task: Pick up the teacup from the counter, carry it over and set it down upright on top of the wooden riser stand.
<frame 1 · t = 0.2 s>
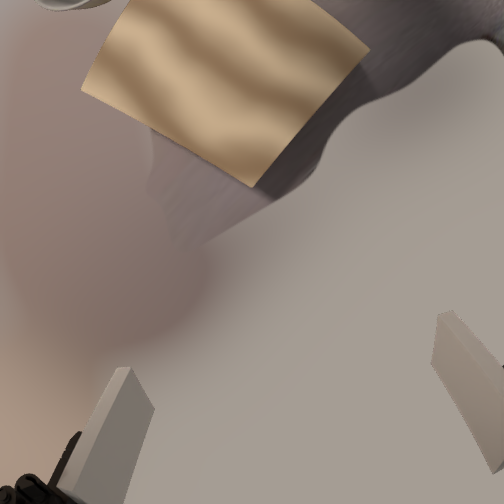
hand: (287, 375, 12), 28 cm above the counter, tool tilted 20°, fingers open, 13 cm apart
wooden riser stand: (222, 54, 27), on the counter
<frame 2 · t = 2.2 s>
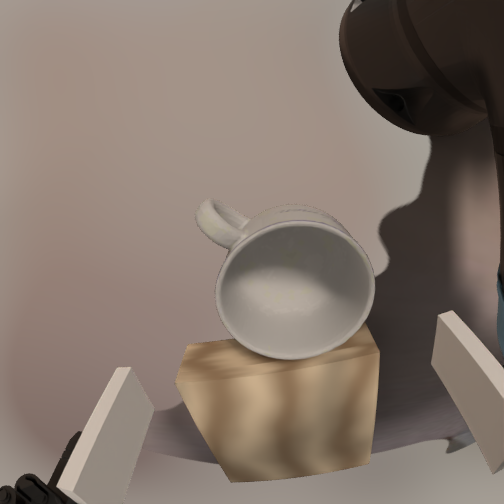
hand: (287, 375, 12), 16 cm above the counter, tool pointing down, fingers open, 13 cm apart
wooden riser stand: (287, 398, 33), on the counter
teacup: (277, 243, 27), on the counter
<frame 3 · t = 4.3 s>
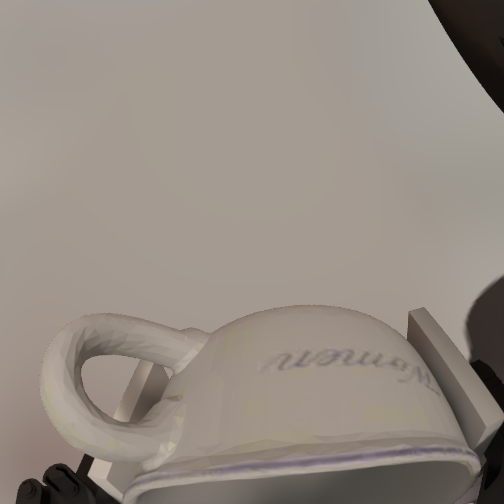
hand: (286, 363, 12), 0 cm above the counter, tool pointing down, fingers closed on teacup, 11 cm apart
teacup: (270, 354, 13), on the counter, touching gripper
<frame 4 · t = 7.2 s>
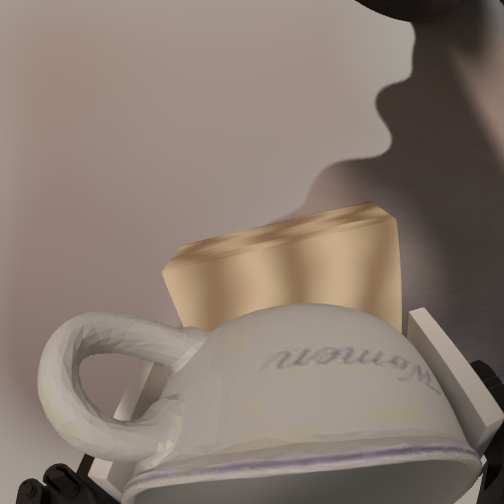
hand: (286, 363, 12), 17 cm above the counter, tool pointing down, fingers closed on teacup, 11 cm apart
wooden riser stand: (297, 316, 31), on the counter
teacup: (270, 353, 13), point 16 cm above the counter, touching gripper
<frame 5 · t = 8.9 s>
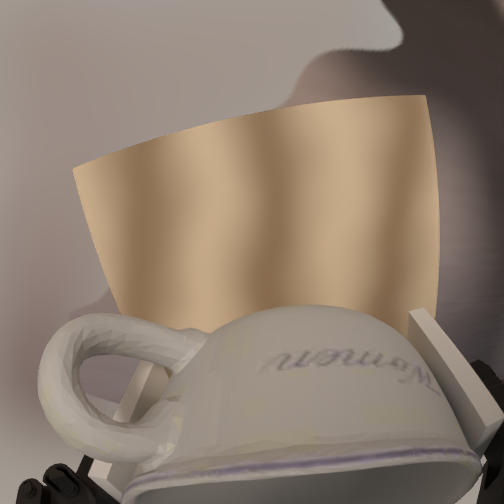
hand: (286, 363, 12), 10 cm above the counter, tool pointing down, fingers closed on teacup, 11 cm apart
wooden riser stand: (278, 269, 22), on the counter
teacup: (270, 354, 13), point 9 cm above the counter, touching gripper
when the fingers open (8 cm above the counter, at t = 10.3 s): teacup drops 1 cm, resting on wooden riser stand.
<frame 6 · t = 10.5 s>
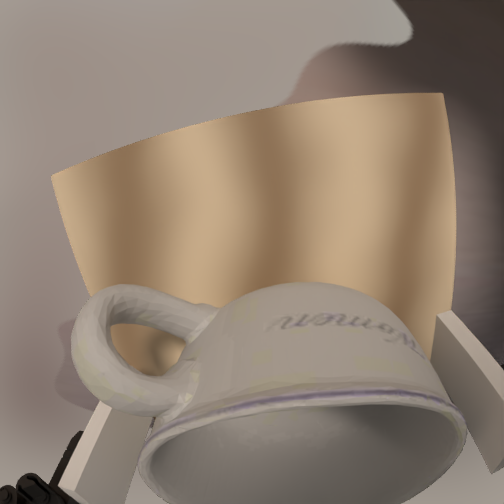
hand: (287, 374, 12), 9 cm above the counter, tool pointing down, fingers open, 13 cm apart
wooden riser stand: (278, 282, 20), on the counter
teacup: (272, 333, 14), point 6 cm above the counter, touching wooden riser stand
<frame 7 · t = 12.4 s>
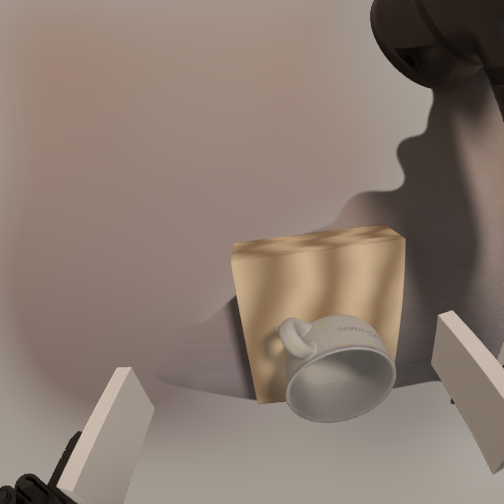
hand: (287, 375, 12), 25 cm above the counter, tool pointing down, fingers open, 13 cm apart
wooden riser stand: (317, 308, 39), on the counter
teacup: (321, 333, 33), point 6 cm above the counter, touching wooden riser stand
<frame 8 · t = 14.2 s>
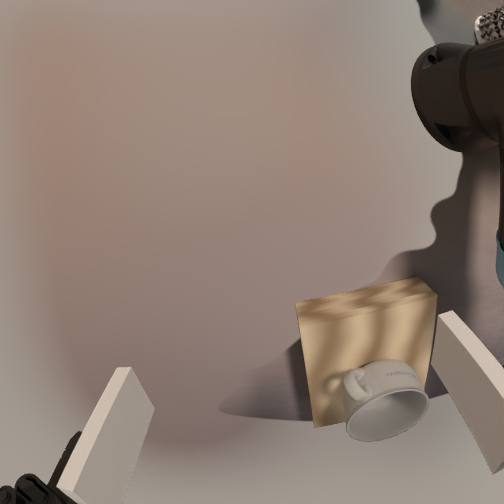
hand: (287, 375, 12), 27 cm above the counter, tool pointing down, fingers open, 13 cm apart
decorative candle: (493, 40, 26), on the counter
wooden riser stand: (362, 346, 43), on the counter
teacup: (369, 371, 38), point 6 cm above the counter, touching wooden riser stand
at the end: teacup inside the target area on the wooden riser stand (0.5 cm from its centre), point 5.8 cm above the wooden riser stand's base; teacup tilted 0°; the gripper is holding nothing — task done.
